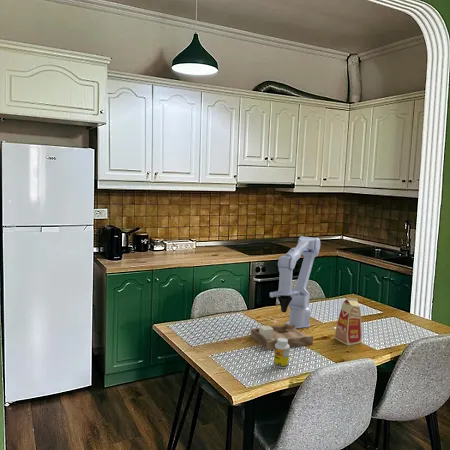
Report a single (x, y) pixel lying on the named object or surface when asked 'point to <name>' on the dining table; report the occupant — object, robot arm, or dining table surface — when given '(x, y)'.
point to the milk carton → (349, 323)
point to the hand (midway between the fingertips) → (283, 311)
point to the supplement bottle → (281, 353)
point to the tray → (282, 332)
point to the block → (266, 332)
